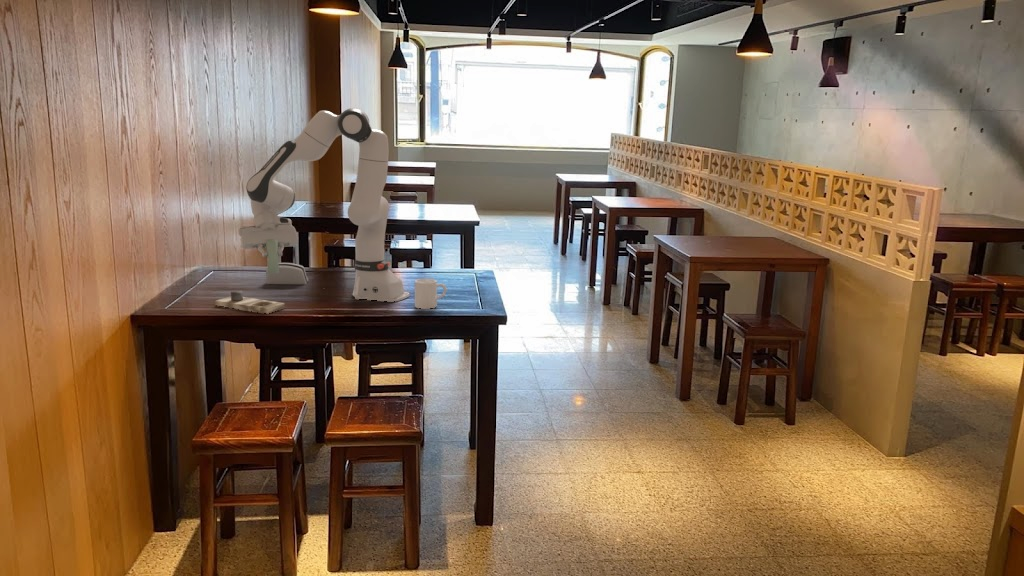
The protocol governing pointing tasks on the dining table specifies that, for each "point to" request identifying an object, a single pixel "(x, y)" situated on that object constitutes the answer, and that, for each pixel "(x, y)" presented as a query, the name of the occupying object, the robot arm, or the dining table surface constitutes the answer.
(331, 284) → the dining table surface
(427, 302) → the mug
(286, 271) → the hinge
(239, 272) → the dining table surface
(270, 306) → the hole plate
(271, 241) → the peg
